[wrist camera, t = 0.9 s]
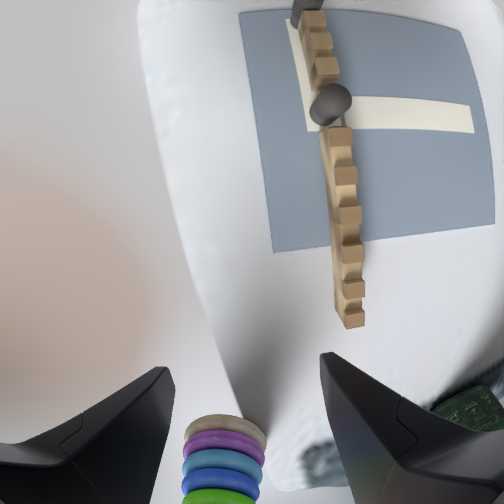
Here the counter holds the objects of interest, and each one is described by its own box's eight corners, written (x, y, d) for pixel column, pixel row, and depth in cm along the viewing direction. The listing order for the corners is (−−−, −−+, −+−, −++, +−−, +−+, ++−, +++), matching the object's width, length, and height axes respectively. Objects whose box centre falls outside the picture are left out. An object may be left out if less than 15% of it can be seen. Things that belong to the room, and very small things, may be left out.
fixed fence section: (311, 15, 16) (320, -15, 12) (336, 126, 18) (354, 112, 14) (287, 16, 16) (292, -15, 12) (310, 127, 18) (323, 113, 14)
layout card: (458, 33, 15) (460, 31, 14) (492, 223, 19) (495, 224, 18) (238, 15, 16) (238, 13, 16) (273, 251, 20) (273, 253, 20)
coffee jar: (415, 445, 25) (464, 557, 7) (425, 403, 23) (497, 534, 5) (475, 416, 24) (535, 507, 6) (490, 373, 22) (572, 468, 4)
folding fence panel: (318, 134, 17) (329, 124, 14) (336, 133, 17) (350, 123, 14) (334, 308, 20) (346, 329, 17) (350, 306, 20) (364, 326, 17)
